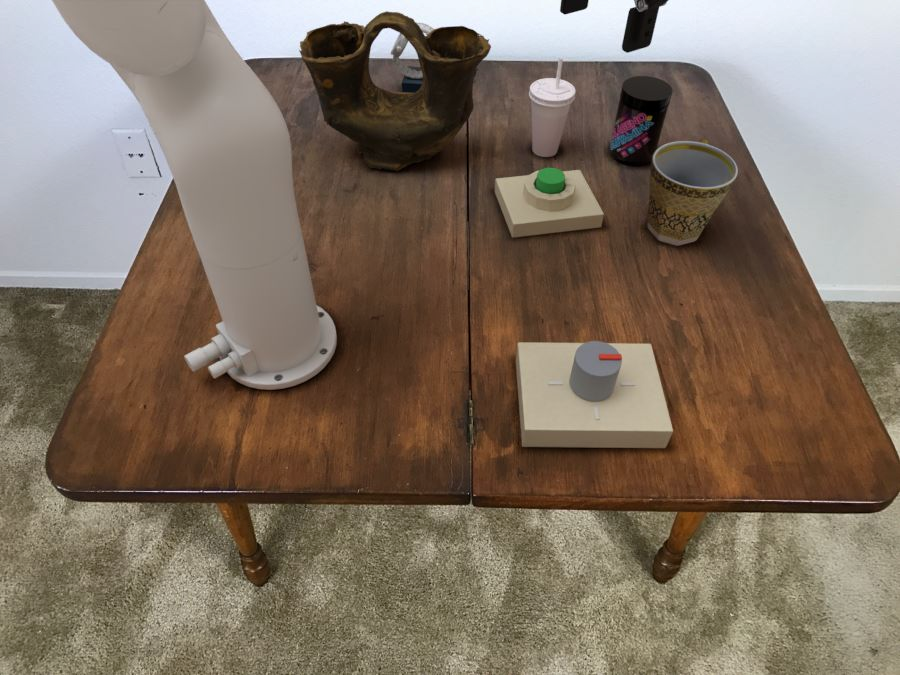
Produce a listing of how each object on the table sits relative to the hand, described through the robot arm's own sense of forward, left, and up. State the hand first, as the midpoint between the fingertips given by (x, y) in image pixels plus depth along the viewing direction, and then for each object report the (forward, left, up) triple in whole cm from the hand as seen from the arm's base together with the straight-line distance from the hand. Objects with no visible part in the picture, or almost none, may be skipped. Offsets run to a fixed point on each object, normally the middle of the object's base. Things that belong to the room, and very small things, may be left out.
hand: (603, 29), depth 68 cm
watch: (+8, +40, -26) cm, 49 cm away
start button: (+2, +5, -23) cm, 23 cm away
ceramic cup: (+13, -8, -26) cm, 30 cm away
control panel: (-18, -20, -26) cm, 38 cm away
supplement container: (+21, +6, -26) cm, 34 cm away
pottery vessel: (-5, +28, -26) cm, 39 cm away
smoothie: (+12, +15, -26) cm, 33 cm away
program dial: (-18, -20, -23) cm, 36 cm away
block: (+2, +5, -26) cm, 27 cm away
